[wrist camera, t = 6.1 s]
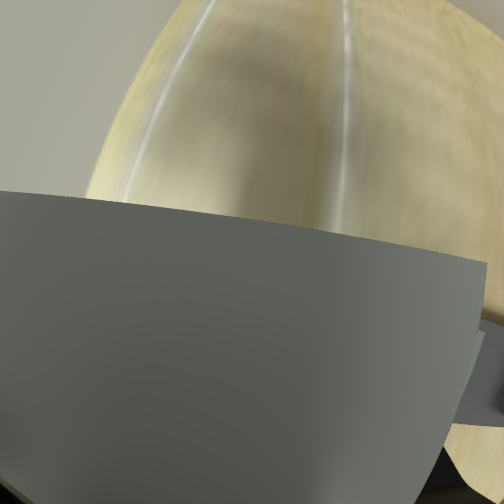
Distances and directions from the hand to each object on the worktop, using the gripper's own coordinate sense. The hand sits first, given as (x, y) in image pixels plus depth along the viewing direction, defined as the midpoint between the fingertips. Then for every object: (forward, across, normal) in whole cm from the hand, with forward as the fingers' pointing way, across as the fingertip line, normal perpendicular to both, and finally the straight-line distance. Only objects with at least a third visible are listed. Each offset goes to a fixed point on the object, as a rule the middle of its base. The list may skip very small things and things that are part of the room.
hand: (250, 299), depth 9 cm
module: (+4, 0, +6) cm, 7 cm away
